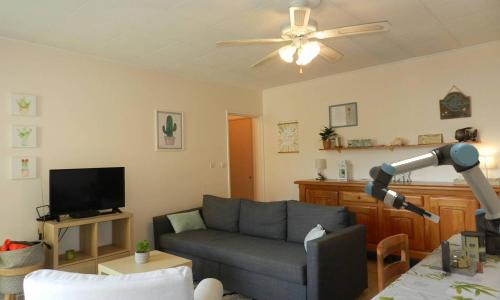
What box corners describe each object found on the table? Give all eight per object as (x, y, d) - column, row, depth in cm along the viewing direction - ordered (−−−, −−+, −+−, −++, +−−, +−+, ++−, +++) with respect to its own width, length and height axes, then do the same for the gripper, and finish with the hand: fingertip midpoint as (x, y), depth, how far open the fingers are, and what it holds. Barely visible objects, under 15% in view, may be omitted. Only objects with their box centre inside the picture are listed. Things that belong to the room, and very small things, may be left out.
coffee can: (480, 258, 173) (479, 230, 174) (490, 264, 163) (488, 235, 164) (458, 257, 175) (457, 230, 176) (467, 263, 165) (465, 235, 166)
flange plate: (440, 259, 174) (440, 248, 174) (487, 267, 159) (487, 255, 160) (429, 268, 161) (428, 256, 161) (478, 277, 147) (477, 264, 147)
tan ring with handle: (445, 258, 169) (444, 232, 170) (472, 262, 161) (471, 235, 161) (431, 269, 154) (429, 240, 155) (460, 274, 146) (458, 244, 146)
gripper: (394, 208, 183) (435, 228, 171) (388, 204, 161) (434, 226, 150) (400, 196, 182) (442, 215, 171) (395, 190, 161) (442, 211, 150)
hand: (438, 220), depth 161 cm, fingers open, 13 cm apart
